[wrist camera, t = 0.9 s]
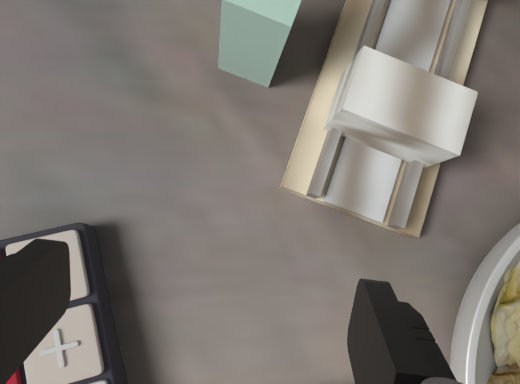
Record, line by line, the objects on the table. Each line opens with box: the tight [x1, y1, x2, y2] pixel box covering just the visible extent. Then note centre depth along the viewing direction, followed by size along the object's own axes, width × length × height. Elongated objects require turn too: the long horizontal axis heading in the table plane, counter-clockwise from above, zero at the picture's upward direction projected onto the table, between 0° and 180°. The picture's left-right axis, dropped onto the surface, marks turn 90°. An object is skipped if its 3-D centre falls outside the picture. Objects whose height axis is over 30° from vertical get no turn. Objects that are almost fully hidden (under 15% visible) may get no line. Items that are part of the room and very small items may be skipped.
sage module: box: [218, 0, 301, 88], centre depth 30 cm, size 4×4×10 cm
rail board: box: [280, 0, 488, 238], centre depth 34 cm, size 12×32×7 cm, turn 160°
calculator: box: [0, 223, 127, 384], centre depth 29 cm, size 11×4×15 cm
